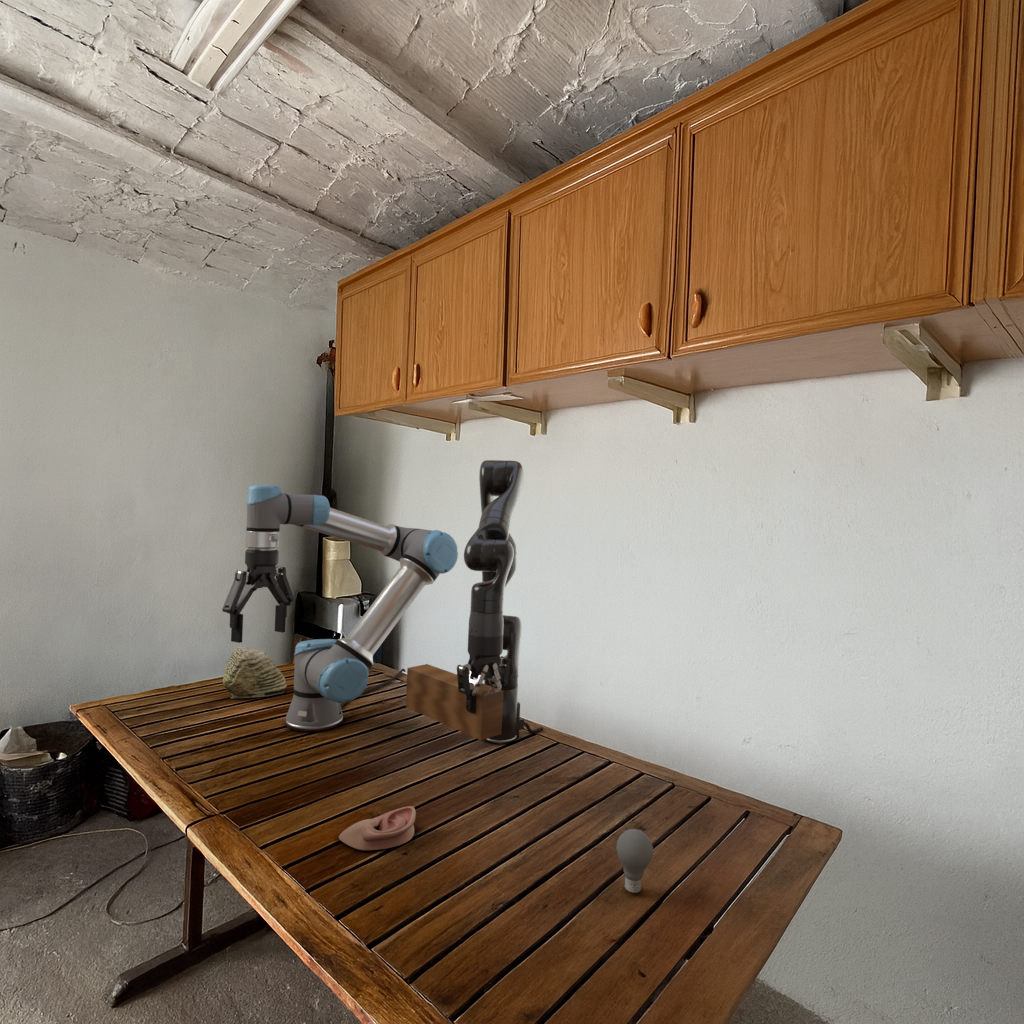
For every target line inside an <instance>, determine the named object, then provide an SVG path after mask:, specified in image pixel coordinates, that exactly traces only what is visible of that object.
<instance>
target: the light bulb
mask: <svg viewBox="0 0 1024 1024" xmlns="http://www.w3.org/2000/svg"><path fill="white" fill-rule="evenodd" d="M615 849H616V854H617V857H618V859H619V861H620V863H621V865H622V867H623V873H624V874H623V875H624V876H625V878H624V888H625V890H627V891H628V892H630V893H634V894H635V893H639V892H640V891H641V889H642V887H641V886H642V879H643V877H644V875H645V871H646V868H647V867H648V866H649V864H650V863H651V861H652V859H653V855H654V847H653V843H652V841H651V838H649V836H648V835H647V834H646V833H645V832H643V831H642V830H641V829H636V828H629V829H627V830H625V831H623V832H622V833H621V834H620V835H619V837H618V839H617V841H616V847H615Z"/></svg>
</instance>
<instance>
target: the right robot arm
mask: <svg viewBox="0 0 1024 1024" xmlns="http://www.w3.org/2000/svg"><path fill="white" fill-rule="evenodd" d="M478 477H479V478H478V479H479V495H480V511H481V516H480V519H479V523H478V528H477V529H476V531H475V532H474V533H473V534H472V536H471V537H470V538H469V540H468V541H467V544H466V545H465V548H464V551H463V562H464V564H465V565H466V567H467V568H468V569H469V570H470V571H474V572H481V581H479V582H476V583H473V584H472V586H471V591H470V610H469V618H468V631H467V632H468V634H467V653H468V656H469V658H468V661H467V663H465V664H464V665H462V664H457V666H456V674H457V678H458V691H459V692H461V693H463V694H466V710H467V711H468V712H469V713H472V714H473V713H475V712H476V694H477V691H478V688H479V686H481V685H482V683H483V684H486V685H489V686H492V687H494V688H497V689H500V690H503V705H502V728H501V734H500V735H497V736H494V737H491V738H487V739H484V740H483V741H485V742H487V743H490V744H497V745H504V744H505V745H506V744H511V743H514V742H515V741H516V740H517V739H519V738H520V731H522V730H524V728H526V730H527V732H528V733H530V734H537V733H540V732H543V731H544V727H543V726H541V727H538V728H534V729H532V728H531V726H530V724H529V723H527V722H526V721H525V718H523V717H521V703H520V701H518V699H519V678H520V676H519V675H520V661H521V660H520V658H521V656H520V655H521V646H522V645H521V644H522V634H523V623H522V622H523V621H522V619H521V618H520V617H519V616H517V615H509V614H508V615H507V614H504V596H505V589H506V587H508V585H509V583H510V582H511V580H512V579H513V578H514V576H515V574H516V571H517V559H518V558H517V557H518V556H517V543H516V541H515V539H514V537H513V535H512V534H511V532H510V529H511V523H512V517H513V514H514V512H515V509H516V507H517V505H518V504H519V503H518V502H519V500H520V497H521V494H522V492H523V488H524V469H523V466H522V464H521V462H519V461H517V460H506V459H505V460H501V459H500V460H499V459H498V460H497V459H491V460H490V459H488V460H487V459H486V460H483V461H482V462H481V464H480V467H479V476H478ZM494 497H496V498H495V499H494ZM503 651H507V653H506V655H503V656H502V654H503ZM473 684H474V686H473V688H472V685H473ZM471 688H472V689H471Z"/></svg>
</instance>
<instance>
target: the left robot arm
mask: <svg viewBox="0 0 1024 1024" xmlns="http://www.w3.org/2000/svg"><path fill="white" fill-rule="evenodd" d="M245 504H246V530H245V548H247V549H245V552H244V564H245V566H246V571H245V570H236V571H235V572H234V579H233V582H232V585H231V587H230V590H229V591H228V594H227V597H226V599H225V601H224V604H223V607H222V610H221V611H222V612H223V613H226V614H229V629H231V630H230V642H231V643H232V642H233V643H238V644H240V643H243V632H244V631H243V629H244V614H243V613H242V611H243V609H244V608H245V606H246V605H247V603H248V601H249V600H250V598H251V597H252V595H253V593H254V592H255V591H257V590H258V589H263V588H267V589H268V591H269V592H270V593H271V595H272V597H273V598H274V599H275V601H276V603H277V604H276V605H275V609H274V610H275V611H274V632H278V633H286V621H287V617H288V607H289V606H291V605H292V603H293V602H294V601H295V597H294V594H293V592H292V588H291V586H290V583H289V579H288V577H287V568H286V567H285V566H279V558H280V557H279V556H280V555H279V554H280V550H278V548H279V547H280V530H281V529H280V528H281V525H293V526H296V527H300V528H304V529H307V530H310V531H313V532H316V533H319V534H324V535H327V536H330V537H333V538H336V539H340V540H343V541H346V542H349V543H352V544H356V545H360V546H363V547H365V548H368V549H372V550H375V551H378V553H379V555H380V556H384V557H387V558H390V559H392V560H394V561H397V562H399V569H398V570H397V571H396V572H395V574H394V575H393V576H392V577H391V579H390V580H389V581H388V582H387V584H386V585H385V586H384V588H383V589H382V590H381V592H380V593H379V595H377V597H376V599H375V600H374V601H373V602H372V604H371V605H370V606H369V607H368V609H367V610H366V612H364V614H363V615H362V616H361V618H359V621H358V622H357V623H356V624H355V625H354V627H353V628H352V630H350V632H349V633H348V635H347V636H346V637H341V638H338V639H334V638H323V639H322V638H319V639H307V640H303V641H299V642H297V644H296V645H295V650H294V653H293V654H294V655H293V656H294V672H293V695H292V696H293V697H292V699H291V702H290V704H289V708H288V711H287V713H286V715H285V726H286V728H287V729H289V730H291V731H294V732H295V731H296V732H301V733H316V732H325V731H329V730H332V729H335V728H337V727H339V726H340V725H342V723H343V722H344V714H343V709H342V707H344V706H345V705H346V704H347V703H350V702H352V701H354V700H355V699H358V697H360V696H361V695H363V694H366V693H368V692H371V691H373V690H376V689H378V688H380V687H383V686H385V685H387V684H389V683H391V682H392V681H394V680H395V679H397V678H398V677H399V676H400V675H401V674H402V673H407V671H406V669H405V668H401V669H400V670H399V672H398V673H397V674H395V675H394V676H393V677H391V678H389V679H388V680H386V681H384V682H382V683H379V684H377V685H375V686H372V687H369V688H367V686H368V683H369V672H370V671H371V669H372V667H373V666H374V655H375V653H377V651H378V649H379V648H380V647H381V645H382V644H383V643H384V641H385V640H386V639H387V637H388V636H389V635H390V633H391V632H392V630H394V628H395V626H396V625H397V623H399V621H400V620H401V618H402V617H403V616H404V614H405V613H406V612H407V610H408V609H409V607H410V606H411V604H412V603H413V602H414V601H415V600H416V599H417V597H418V595H419V594H420V593H421V592H422V590H423V589H424V587H425V586H427V585H433V584H434V582H435V581H436V580H437V578H439V576H440V575H441V574H446V573H449V572H450V571H452V570H453V569H454V567H455V566H456V564H457V562H458V558H459V552H458V544H457V542H456V540H455V539H454V538H453V536H451V534H449V533H447V532H444V531H442V530H438V529H434V530H431V529H424V528H416V527H415V528H413V527H404V526H398V525H395V524H392V523H389V524H387V525H385V524H382V523H378V522H375V521H372V520H369V519H367V518H364V517H360V516H356V515H354V514H352V513H348V512H346V511H342V510H339V509H336V508H333V507H331V505H330V502H329V499H328V498H327V497H326V496H325V495H318V494H299V493H288V492H287V493H286V492H284V493H283V492H282V488H281V486H280V485H273V484H272V485H271V484H251V485H250V486H249V487H248V489H247V497H246V503H245ZM366 688H367V689H366Z"/></svg>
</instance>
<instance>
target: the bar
mask: <svg viewBox="0 0 1024 1024" xmlns="http://www.w3.org/2000/svg"><path fill="white" fill-rule="evenodd" d="M473 686H474V684H473V685H472V688H473ZM472 688H471V689H472ZM405 693H406V696H405V708H407V709H409V710H411V711H414V712H415V713H418V714H420V715H423V716H424V717H427V718H429V719H431V720H434V721H437V722H438V723H441V724H443V725H445V726H447V727H450V728H452V729H454V730H456V731H459V732H460V733H463V734H466V735H468V736H470V737H473V738H475V739H477V740H478V741H485V740H484V739H487V738H491V737H494V736H497V735H500V734H501V728H502V705H503V690H500V689H497V688H494V687H492V686H489V685H486V684H484V682H482V685H481V686H479V688H478V691H477V694H476V712H475V713H473V714H472V713H469V712H468V711H467V710H466V694H463V693H461V692H459V691H458V678H457V673H454V672H451V671H448V670H446V669H442V668H439V667H436V666H434V665H431V664H428V663H426V664H421V665H415V666H410V667H407V671H406V692H405Z"/></svg>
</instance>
